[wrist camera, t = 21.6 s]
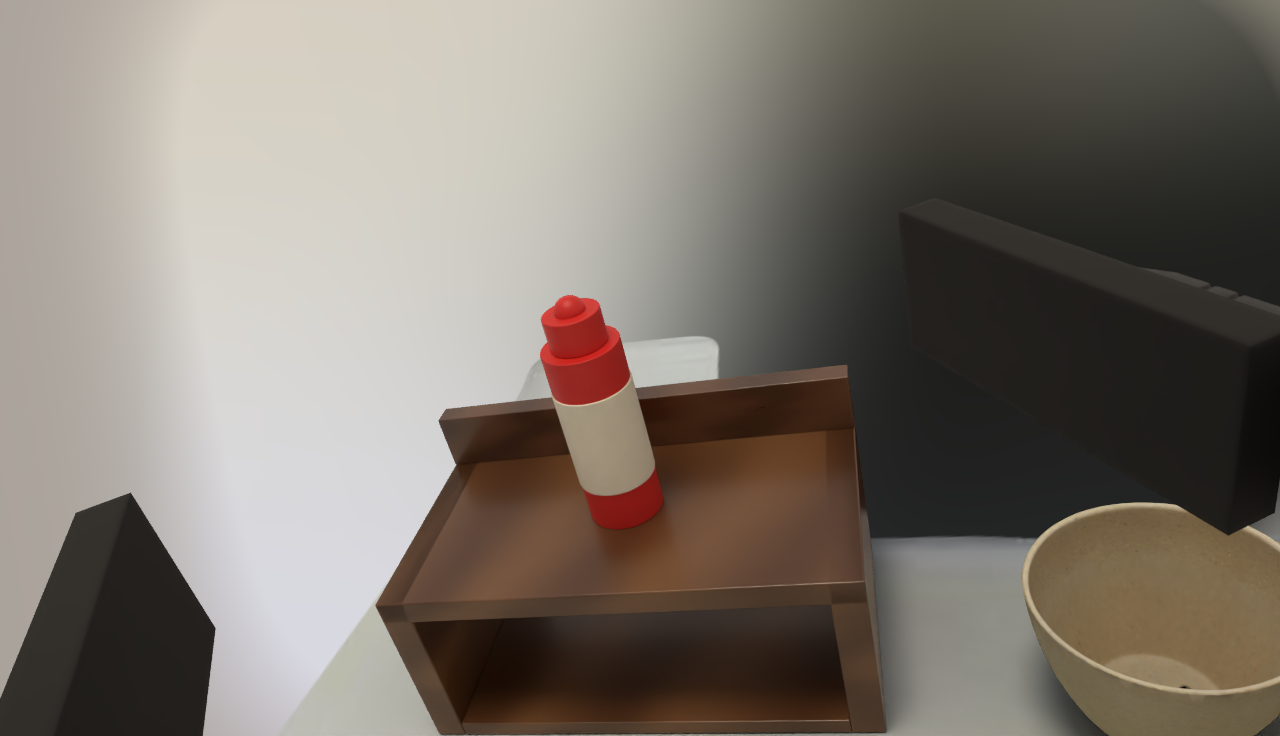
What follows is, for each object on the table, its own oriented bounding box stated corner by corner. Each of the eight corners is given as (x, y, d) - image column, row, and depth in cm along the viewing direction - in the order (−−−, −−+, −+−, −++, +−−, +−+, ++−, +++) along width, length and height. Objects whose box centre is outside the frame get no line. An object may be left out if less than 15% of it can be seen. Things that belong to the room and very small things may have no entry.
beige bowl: (1049, 601, 43) (1047, 485, 40) (1303, 655, 38) (1326, 526, 34) (1002, 768, 36) (996, 645, 33) (1304, 866, 31) (1334, 729, 27)
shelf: (439, 734, 45) (349, 556, 39) (508, 569, 55) (445, 408, 49) (886, 732, 39) (856, 523, 33) (871, 548, 49) (847, 364, 43)
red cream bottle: (582, 533, 41) (512, 322, 36) (599, 484, 45) (536, 284, 39) (658, 527, 40) (597, 310, 35) (669, 478, 44) (615, 272, 38)
